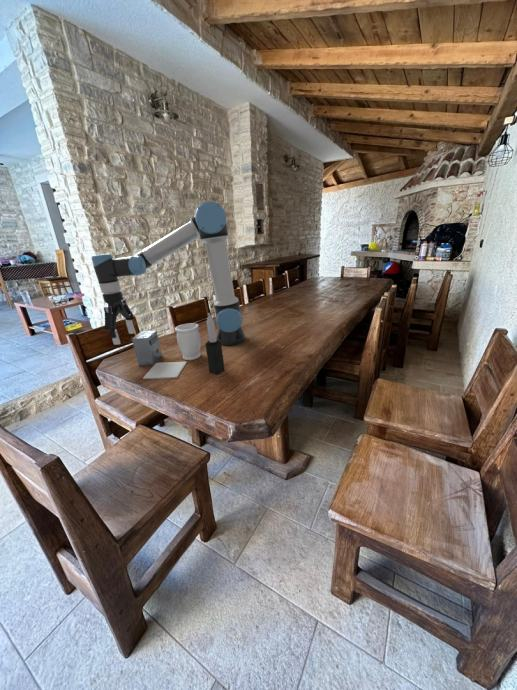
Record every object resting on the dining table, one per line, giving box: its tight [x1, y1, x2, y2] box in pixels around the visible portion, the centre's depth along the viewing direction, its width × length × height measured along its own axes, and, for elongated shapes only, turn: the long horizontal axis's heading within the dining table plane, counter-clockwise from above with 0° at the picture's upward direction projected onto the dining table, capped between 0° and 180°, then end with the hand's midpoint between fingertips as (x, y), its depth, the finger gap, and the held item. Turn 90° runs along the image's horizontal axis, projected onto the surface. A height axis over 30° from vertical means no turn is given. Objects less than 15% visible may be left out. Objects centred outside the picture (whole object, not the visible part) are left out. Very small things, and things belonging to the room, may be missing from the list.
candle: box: [204, 312, 225, 375], centre depth 110 cm, size 5×5×25 cm
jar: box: [174, 322, 202, 361], centre depth 127 cm, size 11×10×15 cm
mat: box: [142, 361, 188, 380], centre depth 118 cm, size 14×14×1 cm
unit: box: [131, 329, 163, 367], centre depth 127 cm, size 8×10×13 cm
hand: (125, 338), depth 126 cm, fingers open, 13 cm apart
